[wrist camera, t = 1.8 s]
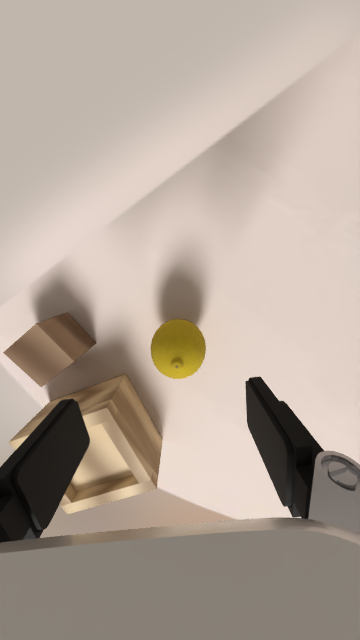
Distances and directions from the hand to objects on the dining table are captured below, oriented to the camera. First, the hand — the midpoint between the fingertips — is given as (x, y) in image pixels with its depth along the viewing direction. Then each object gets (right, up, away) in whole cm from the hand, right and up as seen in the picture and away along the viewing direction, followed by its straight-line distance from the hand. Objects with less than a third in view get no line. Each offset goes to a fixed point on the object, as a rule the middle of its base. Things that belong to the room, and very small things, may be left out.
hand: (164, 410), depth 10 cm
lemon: (+1, +3, +13) cm, 13 cm away
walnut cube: (-13, +3, +13) cm, 19 cm away
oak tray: (-10, -10, +16) cm, 21 cm away
